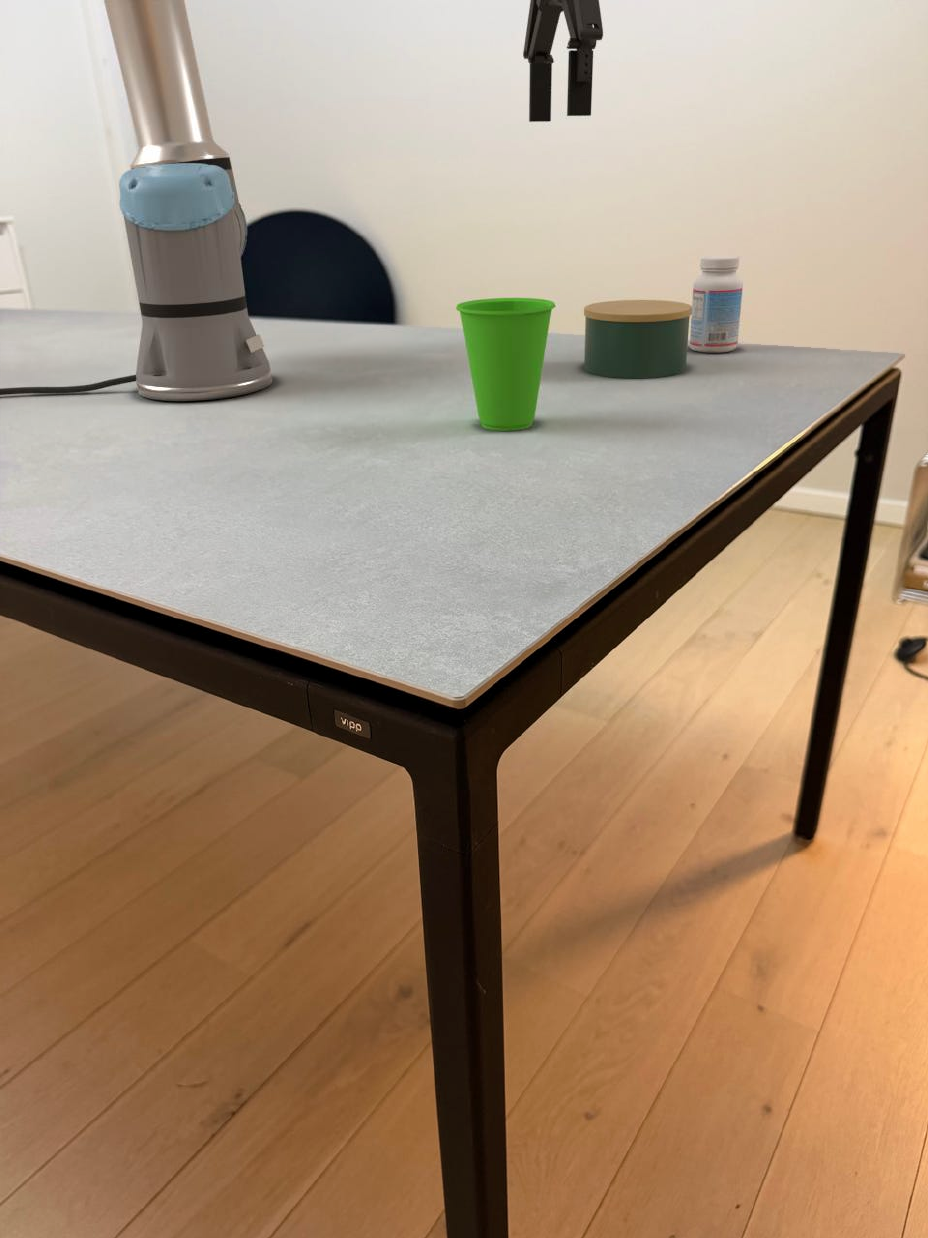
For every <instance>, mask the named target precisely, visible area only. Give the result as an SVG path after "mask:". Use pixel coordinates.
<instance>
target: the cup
mask: <svg viewBox="0 0 928 1238" xmlns="http://www.w3.org/2000/svg"><path fill="white" fill-rule="evenodd" d="M556 307H557V306H556V303H555V301H552V300H549V299H544V298H534V297H495V298H493V297H492V298H483V299H474V300H468V301H463V302H460V303H458V304H456V307H455V310H457V311H458V312H459V313H460V319H461V325H462V330H463V331H462V332H463V337H464V340H465V341H464V342H465V348H466V354H467V360H468V364H469V370H470V375H471V382H472V386H473V387H472V388H473V393H474V399H475V403H476V405H475V406H476V409H477V415H478V420H479V422H480V423H481V427H482V428H484V429H486V430H491V431H499V432H500V431H501V432H504V431H505V432H508V431H511V432H512V431H520V430H524V429H528V428H530V427H531V426H532V425H533V422H534V420H535V417H536V411H537V404H538V399H539V391H540V385H541V378H542V373H543V367H544V361H545V353H546V348H547V341H548V335H549V329H550V328H549V327H550V323H551V315H552V311H553V309H555V308H556Z"/></svg>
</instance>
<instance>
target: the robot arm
mask: <svg viewBox="0 0 928 1238" xmlns="http://www.w3.org/2000/svg"><path fill="white" fill-rule="evenodd" d="M103 2H104V6H105V7H104V8H105V11H106V15H107V19H108V24H109V28H110V32H111V36H112V40H113V44H114V48H115V51H116V52H115V54H116V58H117V61H118V65H119V69H120V73H121V78H122V81H123V82H122V83H123V86H124V91H125V95H126V98H127V101H128V102H127V103H128V107H129V111H130V115H131V119H132V123H133V127H134V132H135V136H136V140H137V144H138V151H137V153H136V155H135V157H134V158H133V160H132V162H131V163H130V166H129V167H130V169H128V170H126V171H125V172H123V174H121V176H120V178H119V180H118V189H119V203H118V204H119V205H118V206H119V208H120V210H121V214H122V215H123V219H124V220H123V221H124V226H125V233H126V239H127V243H128V248H129V254H130V259H131V265H132V266H131V267H132V271H133V276H134V281H135V287H136V293H137V297H138V302H139V310H140V315H141V321H142V323H141V324H142V325H141V333H140V339H139V340H140V341H139V349H138V355H137V361H136V371H135V374H132V375H131V374H130V375H127V376H122V377H117V378H112V379H106V380H102V381H99V382H95V383H91V384H89V383H88V384H83V385H82V384H81V385H71V386H20V387H4V388H3V387H1V388H0V396H5V395H6V396H7V395H25V394H26V395H28V394H29V395H30V394H74V393H85V392H93V391H97V390H101V389H105V388H109V387H113V386H119V385H123V384H124V385H125V384H129V383H133V382H135V383H136V387H137V392H138V395H140V396H142V397H143V398H147V399H151V400H157V401H169V402H194V401H195V402H196V401H206V400H207V401H208V400H218V399H219V400H220V399H226V398H231V397H238V396H242V395H247V394H251V393H255V392H258V391H260V390H263V389H266V388H267V387H269V386H270V385H271V384H272V383H273V376H272V375H273V374H272V369H271V365H270V361H269V360H268V357H267V355H266V352H265V350H264V348H265V344H264V342H263V340H262V337H261V335H260V334H257V333H256V331H255V328H254V326H253V323H252V321H251V319H250V316H249V311H248V307H247V306H248V305H247V297H246V290H245V283H244V274H243V267H242V258H241V257H242V256H243V254H244V251H245V248H246V246H247V236H248V224H247V219H246V215H245V212H244V210H243V208H242V205H241V204H240V200H239V195H238V191H237V185H236V181H235V177H234V172H233V171H234V170H233V167H232V161H231V157H230V154H229V153H228V152H227V151H226V150H225V149H224V148H222V147H221V146H220V145H219V144H217V143H216V141H215V140H214V137H213V132H212V128H211V123H210V119H209V113H208V110H207V103H206V98H205V94H204V90H203V85H202V80H201V75H200V70H199V66H198V60H197V56H196V51H195V45H194V42H193V36H192V32H191V26H190V21H189V16H188V13H187V7H186V2H185V0H103ZM601 12H602V11H601V6H600V0H530V1H529V9H528V15H527V16H528V17H527V22H526V29H525V37H524V44H523V52H522V57H523V59H524V60H527V62H528V64H529V89H528V91H529V93H528V94H529V95H528V96H529V100H528V107H529V108H528V111H529V112H528V121H529V123H534V122H535V123H536V122H537V123H538V122H539V123H541V122H542V123H544V122H545V123H546V122H547V123H549V122H551V121H552V81H553V80H552V79H553V78H552V75H553V74H552V73H553V64H554V63H555V60H554V57H553V56H552V54H551V52H552V48H553V44H554V40H555V36H556V33H557V29H558V26H559V25H558V24H559V20H560V16H561V14H562V13H563V14H564V18H565V22H566V26H567V30H568V34H569V39H568V42H567V46H566V49H567V50H568V59H567V60H568V61H567V62H568V63H567V64H568V65H567V100H566V101H567V102H566V104H567V105H566V117H590V116H592V100H593V98H592V97H593V69H594V50H595V49H596V47H597V41H602V40H603V38H604V29H603V27H604V26H603V21H602V13H601Z"/></svg>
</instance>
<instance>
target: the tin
mask: <svg viewBox="0 0 928 1238" xmlns="http://www.w3.org/2000/svg"><path fill="white" fill-rule="evenodd" d="M583 316H584V317H585V321H584V323H585V324H584V329H585V330H584V355H583V356H584V358H583V359H584V360H583V368H584V370H585V371H586V372H587V373H590V374H593V375H596V376H601V377H608V378H615V379H617V378H618V379H653V378H655V379H656V378H662V377H670V376H674V375H678V374H681V373H683V372H685V371H686V369H687V368H686V367H687V359H688V358H687V357H688V344H689V332H690V331H689V330H690V329H689V328H690V318H691V317H690V316H692V304H688V303H685V302H680V301H674V300H662V299H661V300H660V299H623V300H622V299H621V300H609V301H600V302H594V303H591V304H587V305H585V306H584V307H583Z"/></svg>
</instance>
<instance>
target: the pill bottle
mask: <svg viewBox="0 0 928 1238" xmlns="http://www.w3.org/2000/svg"><path fill="white" fill-rule="evenodd" d="M699 267H700V271H701V275H699V276H698V277H696V279H695V280H694V282H693V286H692V287H693V289H692V302H691V303H692V304H691V306H692V314H691V315H690V316H691V317H690V318H691V319H690V331H689V332H690V336H689V348H690V350H692V351H694V352H698V353H708V354H709V353H710V354H714V353H716V354H719V353H729V352H731V351H734V350H736V349H737V348H738V343H739V335H740V334H739V333H740V321H741V320H740V319H741V309H742V298H743V288H744V287H743V286H744V282H743V280H742V278H741V277H740V276H739V275H737V270H739V267H740V256H738V255H730V254H719V255H716V254H715V255H706V256H705V255H704V256H701V258H700V265H699Z"/></svg>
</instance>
